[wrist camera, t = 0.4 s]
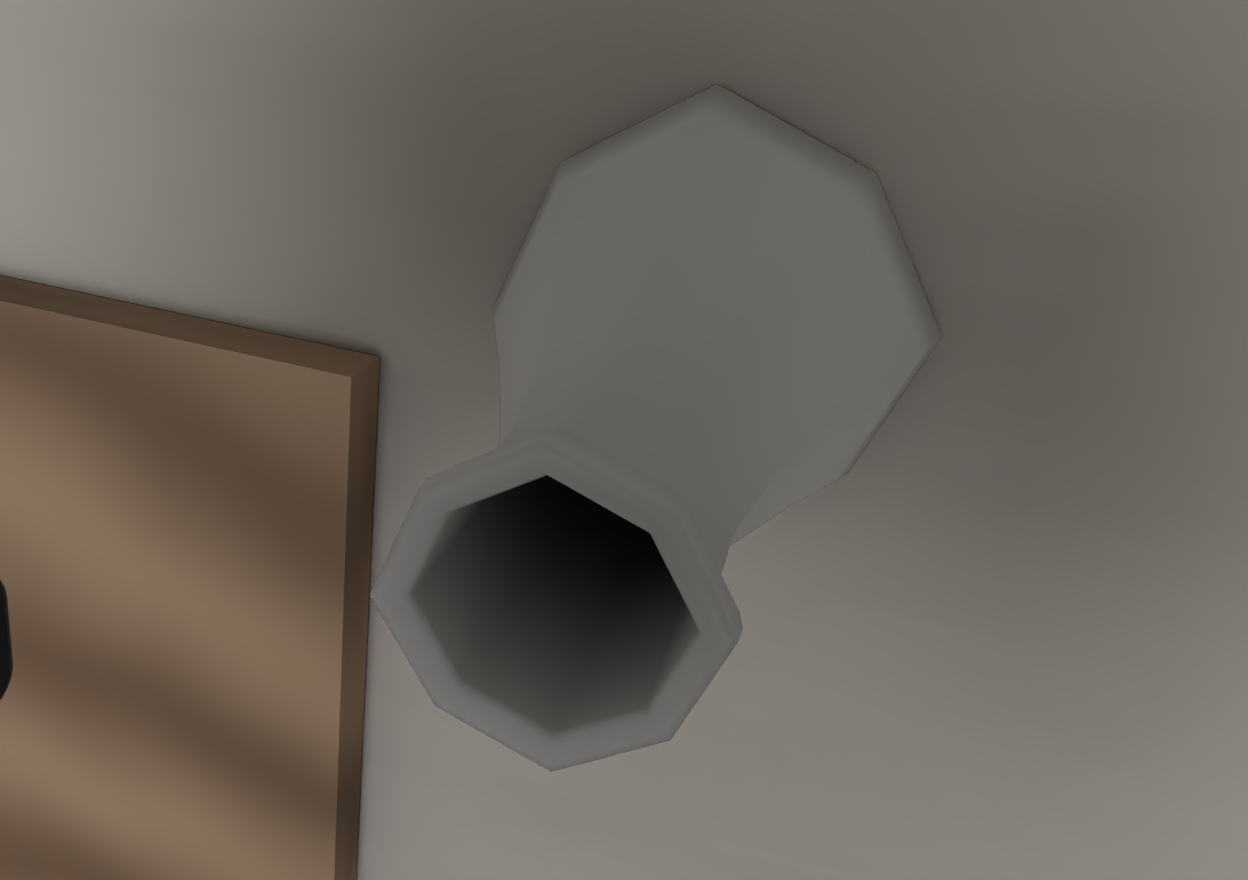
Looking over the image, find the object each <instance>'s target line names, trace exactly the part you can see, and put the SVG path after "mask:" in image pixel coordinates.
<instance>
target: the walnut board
mask: <svg viewBox="0 0 1248 880" xmlns="http://www.w3.org/2000/svg"><path fill="white" fill-rule="evenodd" d="M379 366H380V357H378V356H374V355H369V354H364V353H360V352H355V351H350V350H346V349H341V348H336V347H332V346H327V345H322V344H318V343H313V342H308V341H304V340H299V339H294V338H290V337H285V336H280V335H276V334H271V333H266V332H262V331H257V330H252V329H248V328H243V327H238V326H234V325H229V324H225V323H220V322H215V321H211V320H206V319H201V318H197V317H192V316H187V315H183V314H178V313H173V312H169V311H164V310H159V309H155V308H150V307H145V306H141V305H136V304H131V303H127V302H122V301H117V300H113V299H108V298H103V297H99V296H94V295H89V294H85V293H80V292H75V291H71V290H66V289H61V288H57V287H52V286H47V285H43V284H38V283H33V282H29V281H24V280H19V279H15V278H10V277H5V276H1V275H0V580H1V581H2V583H3V585H4V586H5V588H6V592H7V600H8V611H9V622H10V633H11V644H12V655H13V672H12V677H11V680H10V683H9V686H8V688H7V690H6V692H5V694H4V696H3V698H2V699H1V700H0V880H356V875H357V853H358V831H359V809H360V787H361V765H362V743H363V720H364V698H365V676H366V654H367V632H368V610H369V588H370V566H371V543H372V521H373V499H374V477H375V455H376V433H377V411H378V389H379Z"/></svg>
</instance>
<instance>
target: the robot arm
mask: <svg viewBox="0 0 1248 880" xmlns="http://www.w3.org/2000/svg"><path fill="white" fill-rule="evenodd" d="M12 672H13V655H12V644H11V633H10V622H9V611H8V600H7V592H6V588H5V586H4V585H3V583H2V581H1V580H0V700H1V699H2V698H3V696H4V694H5V692H6V690H7V688H8V686H9V683H10V680H11V677H12Z"/></svg>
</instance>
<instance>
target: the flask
mask: <svg viewBox="0 0 1248 880" xmlns="http://www.w3.org/2000/svg"><path fill="white" fill-rule="evenodd" d="M494 327H495V335H496V343H497V351H498V359H499V367H500V442H499V445H498V447H497V449H496V450H495V451H492V452H490V453H487V454H485V455H482V456H480V457H477V458H475V459H472V460H470V461H467V462H465V463H462V464H460V465H457V466H454V467H452V468H449V469H447V470H444V471H442V472H440V473H437V474H435V475H433V476H431V477H428V478H427V479H426V481H425V482H424V483H423V485H422V486H421V487H420V488H419V490H418V492H417V494H416V496H415V499H414V501H413V503H412V505H411V507H410V509H409V511H408V514H407V516H406V518H405V520H404V522H403V524H402V526H401V529H400V531H399V533H398V535H397V537H396V539H395V541H394V544H393V546H392V548H391V550H390V552H389V554H388V556H387V559H386V561H385V563H384V565H383V567H382V569H381V571H380V574H379V576H378V578H377V580H376V582H375V584H374V586H373V589H372V591H371V593H370V597H371V599H372V600H373V602H374V604H375V605H376V607H377V609H378V610H379V612H380V614H381V615H382V617H383V619H384V620H385V622H386V624H387V625H388V627H389V629H390V631H391V632H392V634H393V636H394V637H395V639H396V641H397V642H398V644H399V646H400V647H401V649H402V651H403V652H404V654H405V656H406V658H407V659H408V661H409V663H410V664H411V666H412V668H413V669H414V671H415V673H416V674H417V676H418V678H419V679H420V681H421V683H422V685H423V686H424V688H425V690H426V691H427V693H428V695H429V696H430V698H431V700H432V701H433V703H434V705H435V706H436V707H438V708H440V709H442V710H443V711H445V712H447V713H449V714H450V715H452V716H454V717H456V718H457V719H459V720H461V721H463V722H465V723H466V724H468V725H470V726H472V727H473V728H475V729H477V730H479V731H480V732H482V733H484V734H486V735H487V736H489V737H491V738H493V739H494V740H496V741H498V742H500V743H501V744H503V745H505V746H507V747H508V748H510V749H512V750H514V751H516V752H517V753H519V754H521V755H523V756H524V757H526V758H528V759H530V760H531V761H533V762H535V763H537V764H538V765H540V766H542V767H544V768H545V769H547V770H549V771H551V772H552V771H556V770H560V769H564V768H567V767H571V766H575V765H579V764H582V763H586V762H590V761H594V760H598V759H601V758H605V757H609V756H613V755H616V754H620V753H624V752H628V751H631V750H635V749H639V748H643V747H646V746H650V745H654V744H658V743H661V742H665V741H669V740H671V738H672V737H673V735H674V734H675V732H676V731H677V730H678V728H679V727H680V725H681V724H682V722H683V721H684V719H685V718H686V717H687V715H688V714H689V712H690V711H691V709H692V708H693V706H694V705H695V703H696V702H697V701H698V699H699V698H700V696H701V695H702V693H703V692H704V690H705V689H706V687H707V686H708V685H709V683H710V682H711V680H712V679H713V677H714V676H715V674H716V673H717V672H718V670H719V669H720V667H721V666H722V664H723V663H724V661H725V660H726V658H727V657H728V656H729V654H730V653H731V651H732V650H733V648H734V647H735V645H736V644H737V643H738V641H739V638H740V635H741V632H742V629H743V626H742V621H741V617H740V612H739V610H738V608H737V606H736V604H735V602H734V600H733V598H732V596H731V594H730V592H729V590H728V588H727V586H726V584H725V582H724V580H723V578H722V576H721V572H722V569H723V565H724V562H725V559H726V556H727V553H728V550H729V547H730V546H731V545H732V544H734V543H735V542H737V541H738V540H740V539H741V538H743V537H744V536H746V535H747V534H749V533H750V532H752V531H753V530H755V529H756V528H758V527H759V526H760V525H762V524H763V523H765V522H766V521H768V520H769V519H771V518H772V517H774V516H775V515H777V514H778V513H780V512H781V511H783V510H784V509H786V508H787V507H789V506H790V505H792V504H794V503H796V502H798V501H799V500H801V499H803V498H805V497H807V496H809V495H811V494H813V493H814V492H816V491H818V490H820V489H822V488H824V487H826V486H828V485H830V484H831V483H833V482H835V481H837V480H838V479H840V478H841V477H843V476H844V475H846V474H847V473H848V472H849V471H850V470H851V468H852V467H853V465H854V464H855V462H856V461H857V459H858V458H859V457H860V455H861V454H862V452H863V451H864V449H865V448H866V446H867V445H868V443H869V442H870V441H871V439H872V438H873V436H874V435H875V433H876V432H877V430H878V429H879V427H880V426H881V424H882V423H883V422H884V420H885V419H886V417H887V416H888V414H889V413H890V411H891V410H892V408H893V407H894V406H895V404H896V403H897V401H898V400H899V398H900V397H901V395H902V394H903V392H904V391H905V389H906V388H907V387H908V385H909V384H910V382H911V381H912V379H913V378H914V376H915V375H916V373H917V372H918V371H919V369H920V368H921V366H922V365H923V363H924V362H925V360H926V359H927V357H928V356H929V355H930V353H931V352H932V350H933V349H934V347H935V346H936V344H937V343H938V341H939V340H940V338H941V337H942V336H941V333H940V331H939V328H938V326H937V323H936V321H935V318H934V316H933V313H932V311H931V308H930V306H929V303H928V301H927V298H926V296H925V293H924V291H923V288H922V286H921V283H920V281H919V278H918V276H917V273H916V271H915V268H914V266H913V263H912V261H911V258H910V256H909V253H908V251H907V248H906V246H905V243H904V241H903V238H902V236H901V233H900V231H899V228H898V226H897V223H896V221H895V218H894V216H893V213H892V211H891V208H890V206H889V203H888V201H887V198H886V196H885V193H884V191H883V188H882V186H881V184H880V181H879V179H878V176H877V174H876V173H875V172H873V171H871V170H869V169H868V168H866V167H864V166H862V165H860V164H859V163H857V162H855V161H853V160H852V159H850V158H848V157H846V156H844V155H843V154H841V153H839V152H837V151H836V150H834V149H832V148H830V147H828V146H827V145H825V144H823V143H821V142H820V141H818V140H816V139H814V138H812V137H811V136H809V135H807V134H805V133H803V132H802V131H800V130H798V129H796V128H795V127H793V126H791V125H789V124H787V123H786V122H784V121H782V120H780V119H779V118H777V117H775V116H773V115H771V114H770V113H768V112H766V111H764V110H762V109H761V108H759V107H757V106H755V105H754V104H752V103H750V102H748V101H746V100H745V99H743V98H741V97H739V96H738V95H736V94H734V93H732V92H730V91H729V90H727V89H725V88H723V87H722V86H720V85H718V84H716V85H714V86H712V87H710V88H708V89H706V90H704V91H702V92H700V93H698V94H696V95H694V96H692V97H690V98H688V99H686V100H684V101H682V102H680V103H678V104H676V105H674V106H672V107H670V108H668V109H666V110H664V111H662V112H660V113H658V114H656V115H654V116H652V117H650V118H648V119H646V120H644V121H642V122H640V123H638V124H636V125H634V126H632V127H630V128H628V129H626V130H624V131H622V132H620V133H618V134H616V135H614V136H612V137H610V138H608V139H606V140H604V141H602V142H600V143H598V144H596V145H594V146H592V147H590V148H587V149H585V150H583V151H581V152H579V153H577V154H575V155H573V156H571V157H569V158H567V159H565V160H563V161H561V162H560V165H559V167H558V169H557V171H556V173H555V175H554V178H553V180H552V182H551V184H550V186H549V188H548V191H547V193H546V195H545V197H544V199H543V201H542V204H541V206H540V208H539V210H538V212H537V214H536V217H535V219H534V221H533V223H532V225H531V227H530V230H529V232H528V234H527V236H526V238H525V240H524V243H523V245H522V247H521V249H520V251H519V253H518V256H517V258H516V260H515V262H514V264H513V266H512V269H511V271H510V273H509V275H508V277H507V279H506V282H505V284H504V286H503V288H502V290H501V292H500V295H499V297H498V299H497V301H496V303H495V305H494Z"/></svg>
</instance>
